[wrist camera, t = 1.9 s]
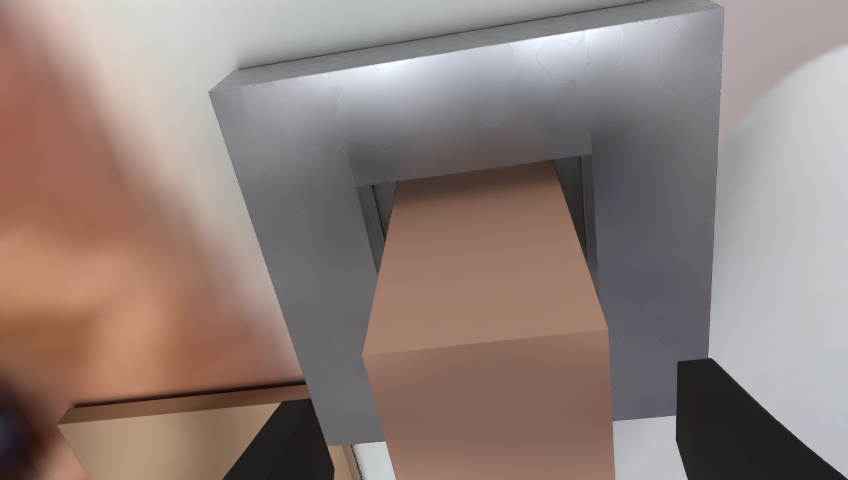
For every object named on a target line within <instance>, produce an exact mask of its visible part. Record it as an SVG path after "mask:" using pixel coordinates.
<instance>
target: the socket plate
mask: <svg viewBox="0 0 848 480" xmlns="http://www.w3.org/2000/svg"><path fill="white" fill-rule="evenodd" d="M723 25H724V7H722V6H720V5H718V4H716V3H713V2H711V1H709V0H655V1H649V2H643V3H637V4H631V5H625V6H619V7H613V8H607V9H601V10H595V11H589V12H583V13H577V14H571V15H565V16H559V17H553V18H547V19H541V20H535V21H529V22H523V23H517V24H511V25H505V26H499V27H493V28H487V29H481V30H475V31H469V32H463V33H457V34H451V35H445V36H439V37H433V38H427V39H421V40H415V41H409V42H403V43H397V44H391V45H385V46H379V47H373V48H367V49H361V50H355V51H349V52H343V53H337V54H331V55H325V56H319V57H313V58H308V59H302V60H296V61H290V62H284V63H278V64H272V65H266V66H260V67H254V68H248V69H242V70H236V71H233V72H232V73H230V74H229V75H228V76H227V77H226V78H224V79H223V80H222V81H221V82H220V83H218V84H217V85H216V86H215V87H214V88H212V89H211V90H210V91H209V92H208V93H209V96H210V99H211V102H212V105H213V108H214V110H215V113H216V116H217V119H218V122H219V125H220V128H221V131H222V134H223V137H224V140H225V143H226V146H227V149H228V152H229V155H230V158H231V161H232V164H233V167H234V170H235V173H236V176H237V179H238V182H239V185H240V188H241V191H242V194H243V197H244V200H245V203H246V206H247V209H248V212H249V215H250V218H251V221H252V224H253V227H254V230H255V233H256V235H257V238H258V241H259V244H260V247H261V250H262V253H263V256H264V259H265V262H266V265H267V268H268V271H269V274H270V277H271V280H272V283H273V286H274V289H275V292H276V295H277V298H278V301H279V304H280V307H281V310H282V313H283V316H284V319H285V322H286V325H287V328H288V331H289V334H290V337H291V340H292V343H293V346H294V349H295V352H296V355H297V358H298V360H299V363H300V366H301V369H302V372H303V375H304V378H305V381H306V384H307V387H308V390H309V393H310V396H311V399H312V402H313V405H314V408H315V411H316V414H317V417H318V420H319V423H320V426H321V429H322V432H323V435H324V438H325V441H326V444H327V446H338V445H349V444H360V443H371V442H383V441H385V437H384V433H383V430H382V426H381V422H380V419H379V415H378V411H377V408H376V404H375V401H374V397H373V393H372V390H371V386H370V382H369V379H368V375H367V371H366V368H365V364H364V361H363V357H362V354H363V349H364V344H365V339H366V334H367V329H368V324H369V320H370V315H371V310H372V305H373V300H374V295H375V291H376V286H377V281H378V276H379V271H380V266H381V261H382V257H383V252H384V247H385V240H384V236H383V232H382V227H381V223H380V219H379V214H378V210H377V206H376V201H375V197H374V193H373V188H372V185H374V184H382V183H389V182H396V181H403V180H410V179H417V178H424V177H432V176H439V175H446V174H453V173H460V172H467V171H474V170H482V169H489V168H496V167H503V166H510V165H517V164H524V163H532V162H539V161H546V160H553V159H560V158H567V157H574V156H581V171H582V188H583V204H584V221H585V237H586V253H587V267H588V270H589V273H590V276H591V279H592V282H593V285H594V288H595V291H596V294H597V297H598V300H599V303H600V306H601V309H602V312H603V315H604V318H605V321H606V324H607V327H608V337H609V359H610V382H611V404H612V421H618V420H630V419H641V418H652V417H663V416H675V415H676V405H677V361H686V360H696V359H706V358H708V348H709V326H710V305H711V283H712V261H713V240H714V218H715V197H716V175H717V154H718V132H719V131H718V130H719V110H720V109H719V108H720V89H721V68H722V46H723V45H722V44H723Z"/></svg>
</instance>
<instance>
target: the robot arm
mask: <svg viewBox="0 0 848 480" xmlns="http://www.w3.org/2000/svg"><path fill="white" fill-rule="evenodd" d="M676 442H677V445H678V448H679V452H680V455H681V459H682V462H683V465H684V469H685V472H686V475H687V478H688V480H848V479H847V478H846V477H845V476H843V475H842V474H841V473H840V472H838V471H837V470H836V469H834V468H833V467H832V466H831V465H829V464H828V463H827V462H826V461H824V460H823V459H822V458H821V457H819V456H818V455H817V454H816V453H815V452H813V451H812V450H811V449H810V448H809V447H807V446H806V445H805V444H804V443H803V442H802V441H800V440H799V439H798V438H797V437H796V436H795V435H794V434H792V433H791V432H790V431H789V430H788V429H787V428H786V427H784V426H783V425H782V424H781V423H780V422H779V421H778V420H776V419H775V418H774V417H773V416H772V415H771V414H770V413H769V412H768V411H766V410H765V409H764V408H763V407H762V406H761V405H760V404H759V403H758V402H757V401H756V400H755V399H754V398H753V397H752V396H750V395H749V394H748V393H747V392H746V391H745V390H744V389H743V388H742V387H741V386H740V385H739V384H738V383H737V382H736V381H735V380H734V379H733V378H732V377H731V376H730V375H729V374H728V373H727V372H726V371H725V370H724V369H723V368H722V367H721V366H720V365H719V364H718V363H717V362H715V361H714V360H713V359H712V358H706V359H696V360H686V361H677V405H676ZM334 473H335V468H334V465H333V462H332V459H331V456H330V453H329V450H328V447H327V444H326V441H325V438H324V435H323V432H322V429H321V426H320V423H319V420H318V417H317V415H316V412H315V409H314V406H313V403H312V400H311V398H308V399H298V400H288V401H282V402H281V403H280V405H279V406H278V407H277V408H276V410H275V411H274V412H273V414H272V415H271V416H270V418H269V419H268V420H267V421H266V423H265V424H264V425H263V427H262V428H261V429H260V431H259V432H258V433H257V435H256V436H255V437H254V439H253V440H252V441H251V443H250V444H249V445H248V447H247V448H246V449H245V451H244V452H243V453H242V455H241V456H240V457H239V459H238V460H237V461H236V462H235V464H234V465H233V466H232V467H231V469H230V470H229V471H228V472H227V474H226V475H225V476H224V478H223V479H222V480H334Z"/></svg>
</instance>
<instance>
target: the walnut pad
mask: <svg viewBox="0 0 848 480" xmlns="http://www.w3.org/2000/svg"><path fill="white" fill-rule="evenodd" d="M308 398H311V396H310V393H309V390H308V387H307V385H299V386H289V387H279V388H269V389H259V390H250V391H240V392H230V393H220V394H210V395H200V396H191V397H181V398H171V399H161V400H151V401H141V402H132V403H122V404H112V405H102V406H92V407H83V408H73V409H68V410H67V412H66V413H65V414H64V416H63V417H62V418H61V420H60V421H59V422H58V424H57V426H58V428H59V429H60V431H61V433H62V434H63V436H64V438H65V440H66V441H67V443H68V445H69V446H70V448H71V450H72V451H73V453H74V455H75V456H76V458H77V460H78V461H79V463H80V465H81V466H82V468H83V470H84V471H85V473H86V475H87V476H88V478H89V480H222V479H223V478H224V476H225V475H226V474H227V472H228V471H229V470H230V469H231V467H232V466H233V465H234V464H235V462H236V461H237V460H238V459H239V457H240V456H241V455H242V453H243V452H244V451H245V449H246V448H247V447H248V445H249V444H250V443H251V441H252V440H253V439H254V437H255V436H256V435H257V433H258V432H259V431H260V429H261V428H262V427H263V425H264V424H265V423H266V421H267V420H268V419H269V418H270V416H271V415H272V414H273V412H274V411H275V410H276V408H277V407H278V406H279V405H280V403H281V402H282V401H288V400H298V399H308ZM311 400H312V399H311ZM312 403H313V402H312ZM313 406H314V405H313ZM314 409H315V408H314ZM315 412H316V411H315ZM316 415H317V414H316ZM327 447H328V450H329V453H330V456H331V459H332V462H333V465H334V468H335V473H334V480H361V478H360V474H359V471H358V468H357V465H356V462H355V458H354V455H353V452H352V449H351V446H350V444H349V445H338V446H327Z"/></svg>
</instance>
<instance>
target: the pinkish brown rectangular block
mask: <svg viewBox="0 0 848 480" xmlns="http://www.w3.org/2000/svg"><path fill="white" fill-rule="evenodd" d="M362 357H363V361H364V364H365V368H366V371H367V375H368V379H369V382H370V386H371V390H372V393H373V397H374V401H375V404H376V408H377V411H378V415H379V419H380V422H381V426H382V430H383V433H384V437H385V441H386V444H387V448H388V451H389V455H390V459H391V462H392V466H393V470H394V473H395V477H396V480H615V470H614V448H613V426H612V404H611V382H610V359H609V337H608V327H607V324H606V321H605V318H604V315H603V312H602V309H601V306H600V303H599V300H598V297H597V294H596V291H595V288H594V285H593V282H592V279H591V276H590V273H589V270H588V267H587V264H586V261H585V258H584V255H583V252H582V249H581V246H580V243H579V240H578V237H577V234H576V231H575V228H574V225H573V221H572V218H571V215H570V212H569V209H568V206H567V203H566V200H565V197H564V194H563V191H562V188H561V185H560V182H559V179H558V176H557V173H556V170H555V167H554V164H553V161H552V160H546V161H539V162H532V163H524V164H517V165H510V166H503V167H496V168H489V169H482V170H474V171H467V172H460V173H453V174H446V175H439V176H432V177H424V178H417V179H410V180H403V181H398V184H397V189H396V194H395V198H394V203H393V208H392V213H391V218H390V223H389V228H388V232H387V237H386V242H385V247H384V252H383V257H382V261H381V266H380V271H379V276H378V281H377V286H376V291H375V295H374V300H373V305H372V310H371V315H370V320H369V324H368V329H367V334H366V339H365V344H364V349H363V354H362Z"/></svg>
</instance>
